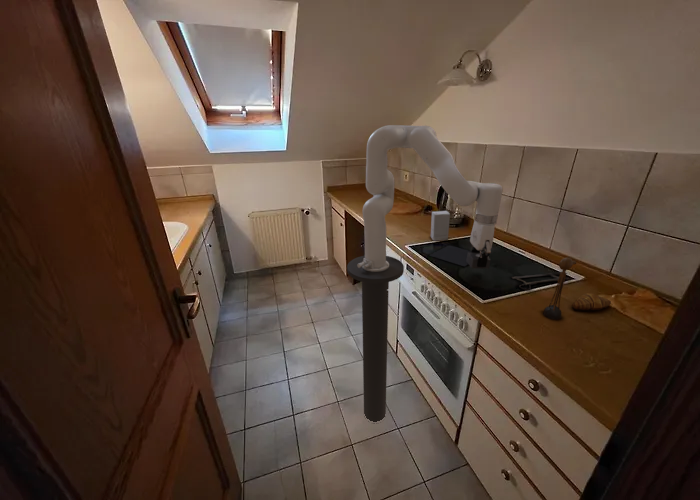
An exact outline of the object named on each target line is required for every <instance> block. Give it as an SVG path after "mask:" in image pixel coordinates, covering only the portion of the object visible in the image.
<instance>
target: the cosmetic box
mask: <svg viewBox="0 0 700 500" xmlns="http://www.w3.org/2000/svg"><path fill="white" fill-rule="evenodd" d="M450 218H451V213H450V212H449V211H448V210H438V211H431V219H430V220H431V221H430V222H431V223H430V238H431V240H432V241H433V242H434V241H435V242H436V241H448V240H449V232H450V221H451V219H450Z"/></svg>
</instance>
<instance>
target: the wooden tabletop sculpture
mask: <svg viewBox="0 0 700 500" xmlns="http://www.w3.org/2000/svg"><path fill="white" fill-rule="evenodd" d="M558 263H559V264H558V267H559V269H560V270H562V272H561V271H559V272H560V275H558V277H559V279H558V281H557V283H556V287H555V290H554V292H553V296H552V298H551V300H550V302H549V304H548V305H547V306H546V307H544V310H543V313H542V315H543V316H544V317H546V318H547V319H550V320H556V321H559V320H561V319H562V315H563V314H562V313H563V312H562V310H561V298H562V292H563V289H564V288H563V287H564V284H565V282H566V279H565V278H567V274H568V273H567V271H568V270H570V269H571V268H572V267H573V266H574V265H576V264H577V261H576V260H573V259H572V258H570V257H563V258H562V259H561V260H560V261H559V262H558ZM560 277H561V278H560ZM552 303H553V304H552ZM557 304H558V306H557Z"/></svg>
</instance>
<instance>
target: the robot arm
mask: <svg viewBox="0 0 700 500" xmlns="http://www.w3.org/2000/svg"><path fill="white" fill-rule="evenodd" d="M398 148H400V149H413V150H414V151H415V153H416V154H417V155H418V157H420V159H421V160H422V161H423V162H424V163H425V164H426V166H427V167H428V168H429V169H430V171H432V173H433V175H434V177H435V178H436V180H437V182H438V183H439V184H440V186H441V188H442V189H443V190H444V191H445V193H446V194H447V195H448V196H449V197H450V199H452V200H453V202H455V204H457V205H458V206H461V207H468V206H469V207H470V206H472V204H474V203H475V202H476V206H475V213H474V219H473V225H472V228H471V233H470V238H469V242H470V244H471V250H470V251H471V253H480V257H478V262H477V267H486V264H487V259H488V257H489V256H490V255H491V253H492V251H491V250H492V248H493V243H494V237H495V227H496V224H497V222H498V217H499V211H500V207H501V201H502V196H503V192H504V191H503V190H504V188H503V186H502V184H500V183H493V182H485V183H484V182H478V181H474V180H467V179H466V178H465V177H464V176H463V174H462V173H461V172H460V170H459V169H458V167H457V165H456V161H455V159H454V156H453V154H452V153H451V152H450V151H449V150H448V149H447V147H445V145H444V144H443V143H442V141H440V139H439V138H438V136H437V132H436V130H435V129H434V128H433V127H432V126H430V125H403V124H388V125H383V126H381V127H379V128H377V129H376V130H374V131H373V132H372V133H371V135H370V136H369V137H368V140H367V142H366V153H365V154H366V157H365V158H366V159H365V161H366V162H365V163H366V164H365V188H366V191H367V192H368V193H369V194H370V195H373V196H372V197H371V198H369V199H367V200H366V201H365V203H364V204H363V206H362V211H361V212H362V218H363V226H364V227H363V229H364V231H363V232H364V256H365V258H363V261H362V263H359V264H357V266H358V268H361V267H362V268H363V269H365V270H367V271H371V272H380V271H384V270H386V269H388V268H389V263H388V262H387V261H386V256H387V224H386V223H387V222H386V215H388V214H389V213H390V212H391V211H392V210H393V208H394V202H395V201H394V200H395V199H394V198H395V176H394V174H393V172H392V171H391V170H389V169H388V165H389V161H388V160H389V158H388V151H389V150H393V149H398ZM482 253H483V254H482Z"/></svg>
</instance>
